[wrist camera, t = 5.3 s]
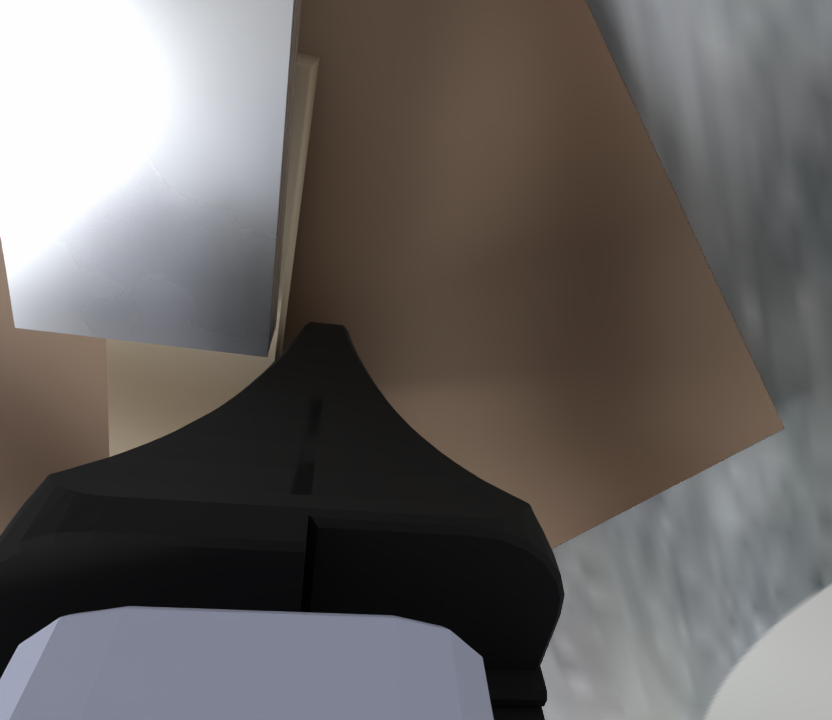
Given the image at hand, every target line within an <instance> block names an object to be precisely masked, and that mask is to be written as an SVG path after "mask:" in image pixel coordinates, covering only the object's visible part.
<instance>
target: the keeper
mask: <svg viewBox="0 0 832 720" xmlns="http://www.w3.org/2000/svg"><path fill="white" fill-rule="evenodd" d="M301 5H302V0H0V234H1V240H2V247H3V253H4V260H5V266H6V273H7V279H8V286H9V292H10V299H11V306H12V312H13V319H14V325H15V328H21V329H30V330H38V331H47V332H55V333H64V334H72V335H81V336H89V337H98V338H106V339H115V340H123V341H132V342H140V343H149V344H157V345H166V346H174V347H183V348H191V349H200V350H208V351H217V352H225V353H234V354H242V355H251V356H259V357H268V353H269V349H270V346H271V342H272V338H273V335H274V331H275V327H276V321H277V308H278V295H279V283H280V270H281V258H282V245H283V232H284V220H285V207H286V194H287V182H288V169H289V156H290V144H291V131H292V118H293V106H294V93H295V80H296V68H297V55H298V43H299V30H300V17H301Z"/></svg>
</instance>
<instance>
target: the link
mask: <svg viewBox="0 0 832 720" xmlns="http://www.w3.org/2000/svg"><path fill="white" fill-rule="evenodd" d="M319 58H320V57H317V56H313V55H308V54H304V53H300V52H298V55H297V68H296V80H295V93H294V106H293V118H292V131H291V144H290V156H289V169H288V182H287V194H286V207H285V220H284V232H283V245H282V258H281V270H280V283H279V295H278V308H277V321H276V327H275V331H274V335H273V338H272V342H271V346H270V349H269V353H268V357H259V356H251V355H242V354H234V353H225V352H217V351H208V350H200V349H191V348H183V347H174V346H166V345H157V344H149V343H140V342H132V341H123V340H115V339H106V358H107V391H108V424H109V457H111V456H114V455H117V454H120V453H123V452H125V451H128V450H131V449H133V448H136V447H139V446H141V445H144V444H146V443H149V442H151V441H154V440H156V439H158V438H161V437H163V436H165V435H167V434H170V433H172V432H174V431H176V430H178V429H180V428H182V427H184V426H186V425H187V424H189V423H191V422H193V421H195V420H197V419H199V418H201V417H203V416H204V415H206V414H208V413H210V412H212V411H213V410H215V409H217V408H218V407H220V406H221V405H223V404H224V403H226V402H227V401H229V400H230V399H231V398H233V397H234V396H236V395H237V394H238V393H239V392H241V391H242V390H243V389H245V388H246V387H247V386H248V385H249V384H250V383H252V382H253V381H254V380H255V379H256V378H257V377H258V376H260V375H261V374H262V373H263V372H264V371H265V370H266V369H267V368H268V367H269V366H270V365H271V364H272V363H273V362H274V361H275V360H276V359H277V358H278V357H279V356H280V355H281V354H282V346H283V338H284V331H285V323H286V315H287V307H288V299H289V292H290V284H291V276H292V268H293V260H294V253H295V245H296V237H297V229H298V221H299V214H300V206H301V198H302V190H303V182H304V175H305V167H306V159H307V151H308V143H309V136H310V128H311V120H312V112H313V104H314V97H315V89H316V81H317V73H318V65H319Z"/></svg>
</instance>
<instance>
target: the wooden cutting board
mask: <svg viewBox="0 0 832 720" xmlns="http://www.w3.org/2000/svg"><path fill="white" fill-rule="evenodd" d="M298 52H300V53H304V54H308V55H313V56H317V57H320V58H319V65H318V73H317V81H316V89H315V97H314V104H313V112H312V120H311V128H310V136H309V143H308V151H307V159H306V167H305V175H304V182H303V190H302V198H301V206H300V214H299V221H298V229H297V237H296V245H295V253H294V260H293V268H292V276H291V284H290V292H289V299H288V307H287V315H286V323H285V331H284V338H283V346H282V353H283V352H284V351H285V350H286V349H287V348H288V346H289V345H290V344H291V343H292V342H293V341H294V339H295V338H296V337H297V336H298V334H299V333H300V332H301V330H302V329H303V327H304V326H305V325H307V324H308V323H309V322H316V323H327V324H337V325H344V327H345V328H346V329H347V330H348V332H349V336H350V338H351V341H352V343H353V346H354V348H355V350H356V352H357V354H358V356H359V358H360V360H361V361H362V363H363V365H364V367H365V368H366V370H367V371H368V373H369V375H370V376H371V378H372V380H373V381H374V383H375V384H376V385H377V387H378V388H379V390H380V391H381V393H382V394H383V395H384V397H385V398H386V399H387V401H388V402H389V403H390V404H391V406H392V407H393V408H394V409H395V411H396V412H397V413H398V414H399V415H400V416H401V417H402V418H403V419H404V420H405V421H406V422H407V423H408V424H409V425H410V426H411V427H412V428H413V429H414V430H415V431H416V432H417V433H418V434H419V435H421V436H422V437H423V438H424V439H425V440H427V441H428V442H429V443H430V444H432V445H433V446H434V447H435V448H436V449H438V450H439V451H440V452H441V453H443V454H444V455H446V456H447V457H448V458H450V459H451V460H453V461H454V462H455V463H457V464H458V465H460V466H462V467H463V468H465V469H466V470H468V471H469V472H471V473H473V474H474V475H476V476H477V477H479V478H481V479H482V480H484V481H486V482H488V483H490V484H492V485H494V486H496V487H498V488H499V489H501V490H503V491H505V492H507V493H509V494H511V495H513V496H515V497H517V498H519V499H521V500H523V501H525V502H527V503H529V504H530V505H531V508H532V510H533V512H534V514H535V516H536V518H537V520H538V522H539V524H540V525H541V527H542V529H543V531H544V533H545V536H546V538H547V540H548V542H549V544H550V547H551V549H552V548H554V547H556V546H558V545H560V544H562V543H564V542H566V541H568V540H570V539H572V538H574V537H576V536H577V535H579V534H581V533H583V532H585V531H587V530H589V529H591V528H593V527H595V526H597V525H599V524H601V523H603V522H605V521H607V520H608V519H610V518H612V517H614V516H616V515H618V514H620V513H622V512H624V511H626V510H628V509H630V508H632V507H634V506H636V505H637V504H639V503H641V502H643V501H645V500H647V499H649V498H651V497H653V496H655V495H657V494H659V493H661V492H663V491H665V490H666V489H668V488H670V487H672V486H674V485H676V484H678V483H680V482H682V481H684V480H686V479H688V478H690V477H692V476H694V475H695V474H697V473H699V472H701V471H703V470H705V469H707V468H709V467H711V466H713V465H715V464H717V463H719V462H721V461H723V460H724V459H726V458H728V457H730V456H732V455H734V454H736V453H738V452H740V451H742V450H744V449H746V448H748V447H750V446H752V445H753V444H755V443H757V442H759V441H761V440H763V439H765V438H767V437H769V436H771V435H773V434H775V433H777V432H779V431H781V430H783V429H784V426H783V424H782V422H781V420H780V418H779V416H778V413H777V411H776V409H775V407H774V405H773V403H772V401H771V398H770V396H769V394H768V392H767V390H766V388H765V385H764V383H763V381H762V379H761V377H760V375H759V373H758V370H757V368H756V366H755V364H754V362H753V360H752V357H751V355H750V353H749V351H748V349H747V347H746V345H745V342H744V340H743V338H742V336H741V334H740V332H739V329H738V327H737V325H736V323H735V321H734V319H733V317H732V314H731V312H730V310H729V308H728V306H727V304H726V301H725V299H724V297H723V295H722V293H721V291H720V289H719V286H718V284H717V282H716V280H715V278H714V276H713V273H712V271H711V269H710V267H709V265H708V263H707V261H706V258H705V256H704V254H703V252H702V250H701V248H700V245H699V243H698V241H697V239H696V237H695V235H694V233H693V230H692V228H691V226H690V224H689V222H688V220H687V217H686V215H685V213H684V211H683V209H682V207H681V205H680V202H679V200H678V198H677V196H676V194H675V192H674V189H673V187H672V185H671V183H670V181H669V179H668V177H667V174H666V172H665V170H664V168H663V166H662V164H661V161H660V159H659V157H658V155H657V153H656V151H655V149H654V146H653V144H652V142H651V140H650V138H649V136H648V133H647V131H646V129H645V127H644V125H643V123H642V121H641V118H640V116H639V114H638V112H637V110H636V108H635V105H634V103H633V101H632V99H631V97H630V95H629V93H628V90H627V88H626V86H625V84H624V82H623V80H622V77H621V75H620V73H619V71H618V69H617V67H616V65H615V62H614V60H613V58H612V56H611V54H610V52H609V49H608V47H607V45H606V43H605V41H604V39H603V37H602V34H601V32H600V30H599V28H598V26H597V24H596V21H595V19H594V17H593V15H592V13H591V11H590V9H589V6H588V4H587V2H586V0H302V5H301V17H300V30H299V43H298ZM108 457H109V424H108V391H107V358H106V338H98V337H89V336H81V335H72V334H64V333H55V332H47V331H38V330H30V329H21V328H15V325H14V319H13V312H12V306H11V299H10V292H9V286H8V279H7V273H6V266H5V260H4V253H3V247H2V240H1V234H0V536H1V534H2V533H3V531H4V530H5V528H6V527H7V525H8V524H9V522H10V521H11V520H12V518H13V517H14V516H15V514H16V513H17V512H18V511H19V509H20V508H21V507H22V505H23V504H24V503H25V502H26V500H27V499H28V498H29V497H30V496H31V495H32V494H33V493H34V491H35V490H36V489H37V488H38V487H39V486H40V485H41V484H42V482H43V481H44V480H45V478H46V477H47V476H48V475H49V474H52V473H56V472H60V471H64V470H67V469H71V468H74V467H77V466H81V465H84V464H87V463H91V462H94V461H97V460H101V459H104V458H108Z"/></svg>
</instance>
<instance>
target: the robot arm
mask: <svg viewBox="0 0 832 720" xmlns="http://www.w3.org/2000/svg"><path fill="white" fill-rule="evenodd" d="M563 600H564V590H563V584H562V579H561V574H560V571H559V569H558V566H557V563H556V560H555V557H554V554H553V551H552V549H551V547H550V544H549V542H548V540H547V538H546V536H545V533H544V531H543V529H542V527H541V525H540V524H539V522H538V520H537V518H536V516H535V514H534V512H533V510H532V508H531V505H530V504H529V503H527V502H525V501H523V500H521V499H519V498H517V497H515V496H513V495H511V494H509V493H507V492H505V491H503V490H501V489H499V488H498V487H496V486H494V485H492V484H490V483H488V482H486V481H484V480H482V479H481V478H479V477H477V476H476V475H474V474H473V473H471V472H469V471H468V470H466V469H465V468H463V467H462V466H460V465H458V464H457V463H455V462H454V461H453V460H451V459H450V458H448V457H447V456H446V455H444V454H443V453H441V452H440V451H439V450H438V449H436V448H435V447H434V446H433V445H432V444H430V443H429V442H428V441H427V440H425V439H424V438H423V437H422V436H421V435H419V434H418V433H417V432H416V431H415V430H414V429H413V428H412V427H411V426H410V425H409V424H408V423H407V422H406V421H405V420H404V419H403V418H402V417H401V416H400V415H399V414H398V413H397V412H396V411H395V409H394V408H393V407H392V406H391V404H390V403H389V402H388V401H387V399H386V398H385V397H384V395H383V394H382V393H381V391H380V390H379V388H378V387H377V385H376V384H375V383H374V381H373V380H372V378H371V376H370V375H369V373H368V371H367V370H366V368H365V367H364V365H363V363H362V361H361V360H360V358H359V356H358V354H357V352H356V350H355V348H354V346H353V343H352V341H351V338H350V336H349V332H348V330H347V329H346V328H345V327H344V325H337V324H327V323H316V322H309V323H308V324H307V325H305V326H304V327H303V329H302V330H301V332H300V333H299V334H298V336H297V337H296V338H295V339H294V341H293V342H292V343H291V344H290V345H289V346H288V348H287V349H286V350H285V351H284V352H283V353H282V354H281V355H280V356H279V357H278V358H277V359H276V360H275V361H274V362H273V363H272V364H271V365H270V366H269V367H268V368H267V369H266V370H265V371H264V372H263V373H262V374H261V375H260V376H258V377H257V378H256V379H255V380H254V381H253V382H252V383H250V384H249V385H248V386H247V387H246V388H245V389H243V390H242V391H241V392H239V393H238V394H237V395H236V396H234V397H233V398H231V399H230V400H229V401H227V402H226V403H224V404H223V405H221V406H220V407H218V408H217V409H215V410H213V411H212V412H210V413H208V414H206V415H204V416H203V417H201V418H199V419H197V420H195V421H193V422H191V423H189V424H187V425H186V426H184V427H182V428H180V429H178V430H176V431H174V432H172V433H170V434H167V435H165V436H163V437H161V438H158V439H156V440H154V441H151V442H149V443H146V444H144V445H141V446H139V447H136V448H133V449H131V450H128V451H125V452H123V453H120V454H117V455H114V456H111V457H108V458H104V459H101V460H97V461H94V462H91V463H87V464H84V465H81V466H77V467H74V468H71V469H67V470H64V471H60V472H56V473H52V474H49V475H48V476H47V477H46V478H45V480H44V481H43V482H42V484H41V485H40V486H39V487H38V488H37V489H36V490H35V491H34V493H33V494H32V495H31V496H30V497H29V498H28V499H27V500H26V502H25V503H24V504H23V505H22V507H21V508H20V509H19V511H18V512H17V513H16V514H15V516H14V517H13V518H12V520H11V521H10V522H9V524H8V525H7V527H6V528H5V530H4V531H3V533H2V534H1V536H0V720H545V719H544V715H543V711H542V707H541V706H544V705H545V703H546V701H547V690H546V686H545V682H544V678H543V675H542V671H541V667H540V665H541V662H542V660H543V657H544V655H545V652H546V650H547V647H548V645H549V642H550V640H551V637H552V635H553V632H554V630H555V627H556V624H557V622H558V619H559V617H560V614H561V609H562V604H563Z"/></svg>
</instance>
